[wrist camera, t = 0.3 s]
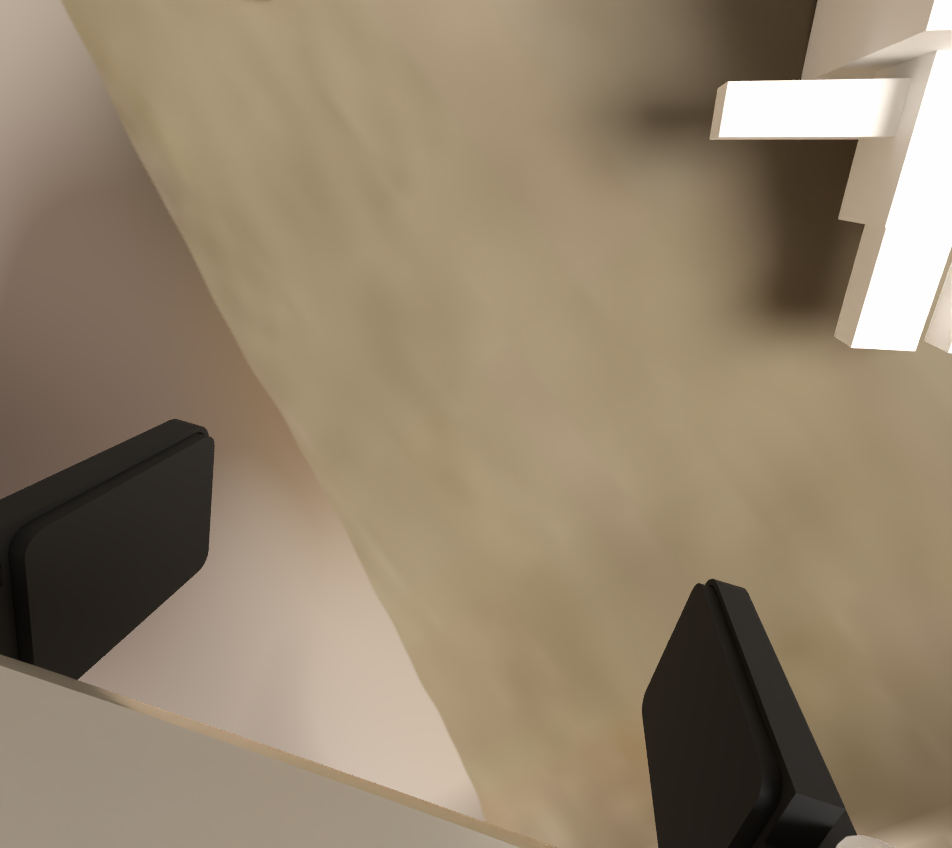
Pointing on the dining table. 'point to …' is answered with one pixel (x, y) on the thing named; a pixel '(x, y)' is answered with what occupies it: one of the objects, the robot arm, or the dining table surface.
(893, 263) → the blocky voxel creature
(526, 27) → the dining table surface
